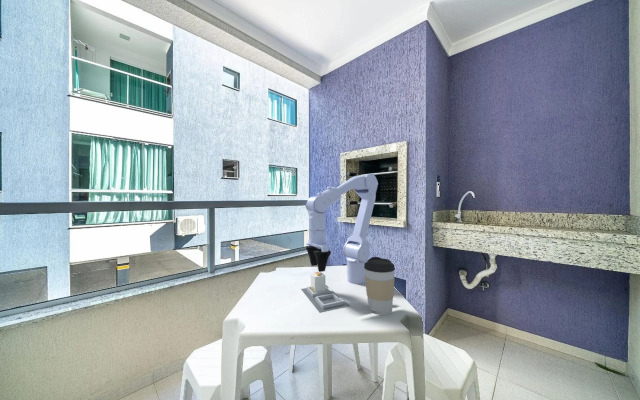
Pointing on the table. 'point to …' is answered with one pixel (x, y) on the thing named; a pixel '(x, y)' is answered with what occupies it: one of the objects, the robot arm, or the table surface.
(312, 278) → the plug
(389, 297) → the coffee cup
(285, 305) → the table surface
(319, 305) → the panel
